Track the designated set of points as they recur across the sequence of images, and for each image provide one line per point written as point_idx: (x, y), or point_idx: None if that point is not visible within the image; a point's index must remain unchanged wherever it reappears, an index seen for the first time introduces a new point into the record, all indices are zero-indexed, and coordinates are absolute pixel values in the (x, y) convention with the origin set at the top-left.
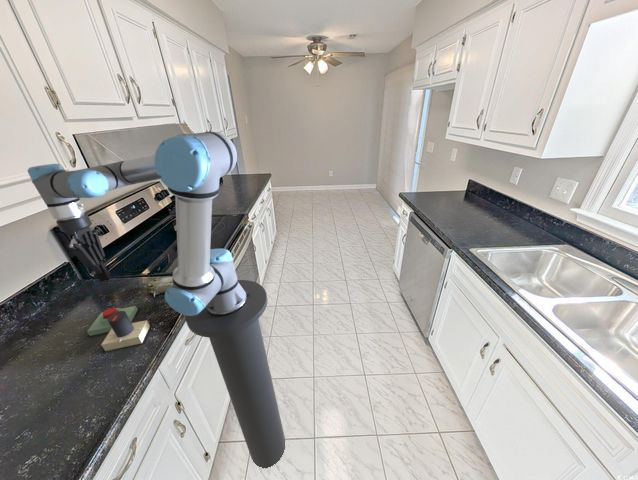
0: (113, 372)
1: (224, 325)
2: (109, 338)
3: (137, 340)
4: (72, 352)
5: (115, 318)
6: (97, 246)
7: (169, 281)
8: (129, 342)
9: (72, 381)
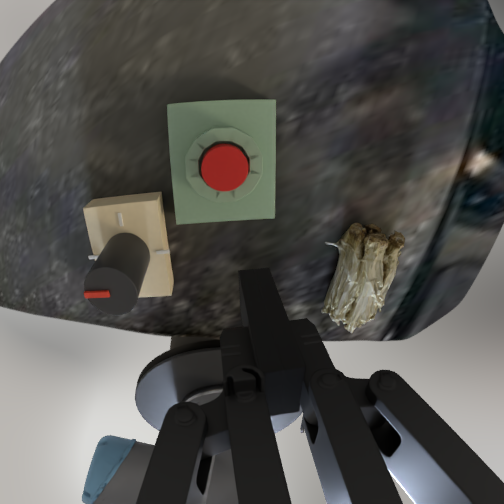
0: (38, 257)
1: (152, 411)
2: (104, 219)
3: None
4: (106, 96)
5: (96, 296)
6: (415, 489)
7: (356, 305)
8: None
9: (20, 176)
